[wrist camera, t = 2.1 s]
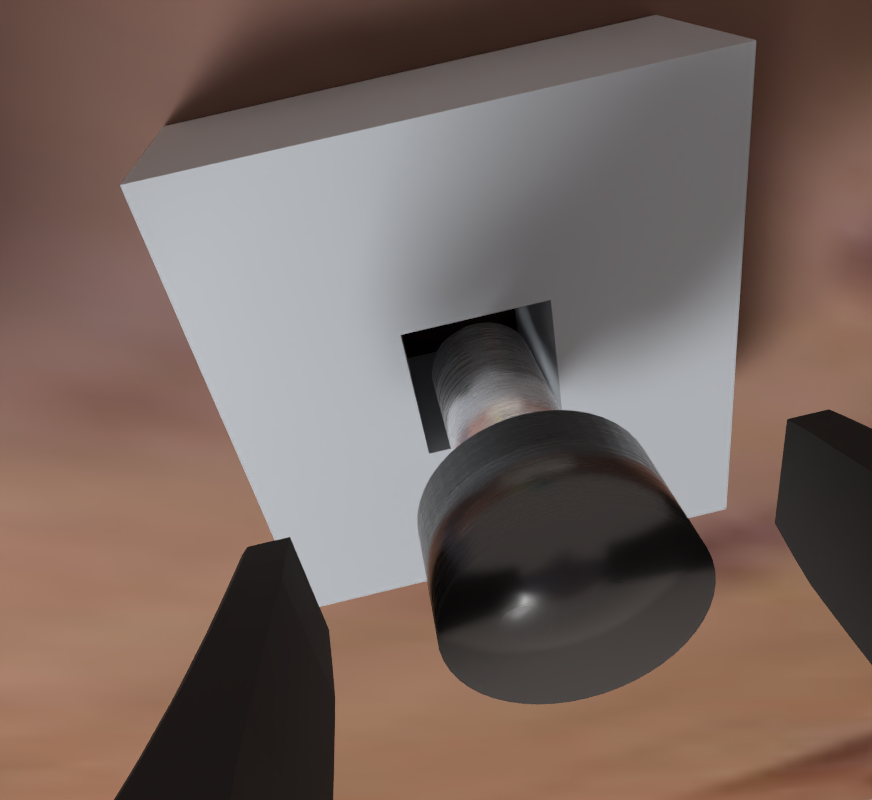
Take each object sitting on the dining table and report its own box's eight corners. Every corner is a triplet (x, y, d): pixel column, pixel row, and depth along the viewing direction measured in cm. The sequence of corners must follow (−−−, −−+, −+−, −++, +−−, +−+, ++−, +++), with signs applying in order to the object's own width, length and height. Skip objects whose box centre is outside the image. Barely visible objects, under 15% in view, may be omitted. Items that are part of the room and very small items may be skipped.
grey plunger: (410, 458, 15) (461, 727, 10) (371, 308, 13) (410, 551, 8) (576, 419, 15) (710, 668, 10) (562, 263, 13) (722, 476, 8)
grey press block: (306, 498, 20) (305, 610, 17) (163, 125, 14) (119, 185, 11) (659, 414, 20) (725, 508, 17) (656, 14, 14) (756, 40, 11)
